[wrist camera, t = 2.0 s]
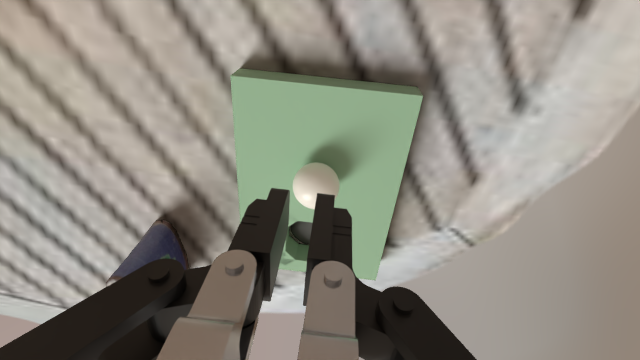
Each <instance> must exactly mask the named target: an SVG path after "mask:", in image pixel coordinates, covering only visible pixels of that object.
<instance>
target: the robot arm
mask: <svg viewBox="0 0 640 360" xmlns="http://www.w3.org/2000/svg"><path fill="white" fill-rule="evenodd" d="M334 201H335V195H330V194H321V193H317V197H316V204H315V210H314V217H313V223H312V230H311V236H310V243H309V249H308V256H307V266H306V277H305V289H304V301H303V305H304V306H306V312H305V319H304V325H303V330H302V333H301V339H300V345H299V352H298V359H297V360H359V357H361V358H363V359H365V360H476V359H475V357H474V356H473V355H472V354H471V353H470V352H469V351H468V350H467V349H466V348H465V346H464V345H463V344H462V343H461V342H460V341H459V340H458V339H457V338H456V337H455V336H454V334H453V333H452V332H451V331H450V330H449V329H448V328H447V327H446V326H445V324H444V323H443V322H442V321H441V320H440V319H439V318H438V317H437V316H436V315H435V313H434V312H433V311H432V310H431V309H430V308H429V307H428V306H427V305H426V304H425V302H424V301H423V300H422V299H421V298H420V297H419V296H418V295H417V294H415V293H414V292H413V291H411V290H409V289H406V288H403V287H390V288H387V289H385V290H384V291H383V292H380V291H378V290H375V289H373V288H371V287H368V286H367V285H365V284H363V283H362V282H361V281H360V280H359V279H358V278H357V277H356V275H355V273H354V271H353V267H352V217H351V215H350V214H349V212H348V210H347V209H343V208H334ZM289 204H290V190H286V189H277V188H271V190H270V192H269V195H268V197H267V200H264V199H256V200H255V201H253V202H252V203H251V204H250V205H249V206H248V207H247V209H246V212H245V214H244V217H243V218H242V220H241V224H240V225H239V227H238V229H237V231H236V234H235V236H234V238H233V240H232V243H231V245H230V247H229V249H228V251H227V252H224V253H222V254H221V255H219V256H218V257H217V258H216V259H215V260H214V262H213V263H212V265H209V266H206V267H200V268H193V269H186V270H184V267H183V265H182V264H181V263H180V262H179V261H177V260H174V259H168V258H165V259H158V260H154V261H152V262H149V263H148V264H146V265H144V266H142V267H140V268H139V269H137V270H135V271H133V272H132V273H130V274H128V275H127V276H125V277H123V278H121V279H120V280H118V281H116V282H114V283H113V284H111V285H109V286H107V287H106V288H104V289H102V290H100V291H99V292H97V293H95V294H93V295H92V296H90V297H88V298H86V299H85V300H83V301H81V302H79V303H78V304H76V305H74V306H73V307H71V308H69V309H67V310H66V311H64V312H62V313H60V314H59V315H57V316H55V317H53V318H52V319H50V320H48V321H46V322H45V323H43V324H41V325H39V326H38V327H36V328H34V329H33V330H31V331H29V332H27V333H26V334H24V335H22V336H20V337H19V338H17V339H15V340H13V341H12V342H10V343H8V344H7V345H5V346H3V347H1V348H0V360H248V359H249V355H250V351H251V347H252V343H253V339H254V335H255V331H256V327H257V323H258V315H259V312H260V308H261V305H262V301H271V297H272V293H273V289H274V285H275V281H276V276H277V272H278V268H279V264H280V260H281V256H282V252H283V248H284V244H285V240H286V236H287V231H288V224H289Z"/></svg>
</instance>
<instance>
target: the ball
mask: <svg viewBox="0 0 640 360" xmlns="http://www.w3.org/2000/svg"><path fill="white" fill-rule="evenodd" d="M339 187H340V185H339V179H338V176H337V174H336V173H335V171H334V170H333V169H332V168H331V167H329V166H328V165H326V164H323V163H318V162H315V163H309V164H307V165H305V166H303V167H302V168H300V169H299V170H298V172H297V173H296V175H295V177H294V180H293V192H294V195H295V197H296V199H297V200H298V201H299V202H300V203H301V204H302V205H303V206H305V207H307V208H310V209H315V204H316V197H317V193H321V194H330V195H335V199H336V197H337V195H338V193H339Z"/></svg>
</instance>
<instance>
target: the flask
mask: <svg viewBox="0 0 640 360" xmlns="http://www.w3.org/2000/svg"><path fill="white" fill-rule="evenodd" d="M161 221H163V223H162V222H161ZM161 221H160V220H159V221H156V222H155V223H153V225H152V226H151V227H150V228H149V230H148V231H147V233H146V234H145V235H144V236H143V238H142V239H141V241H140V242H139V243H138V244H137V246H136V247H135V248H134V249H133V250H132V252H131V253H130V254H129V256H128V257H127V258H126V259H125V260H124V262H123V263H122V264H121V265H120V266H119V268H118V269H117V270H116V271H115V272H114V273H113V275H112V276H111V277H110V278H109V279H108V281H107V282H106V286H109V285H111V284H113V283H114V282H116V281H118V280H120V279H121V278H123V277H125V276H127V275H128V274H130V273H132V272H133V271H135V270H137V269H139V268H140V267H142V266H144V265H146V264H148V263H149V262H152V261H154V260H158V259H165V258H168V259H174V260H177V261H179V262H180V263H181V264H182V265H183V267H184V270H186V269H188V267H189V266H188V260H187V254H186V253H185V250H184V249H183V245H182V243H181V240H180V239H179V236H178V234H177V231H176V229H175V228H173V226H172V225H171V224H170V222H167V221H165V220H161Z"/></svg>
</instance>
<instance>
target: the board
mask: <svg viewBox="0 0 640 360" xmlns="http://www.w3.org/2000/svg"><path fill="white" fill-rule="evenodd" d="M231 89H232V105H233V120H234V135H235V150H236V165H237V180H238V196H239V211H240V224H241V220H242V218H243V217H244V214H245V212H246V209H247V207H248V206H249V205H250V204H251V203H252V202H253V201H255V200H256V199H264V200H267V197H268V195H269V192H270V190H271V188H277V189H286V190H290V204H289V224H288V231H287V236H286V240H285V244H284V248H283V252H282V256H281V260H280V264H279V268H278V269H284V270H293V271H301V272H306V266H307V256H308V249H309V245H304V244H298V243H297V242H296V241H295V240H294V239H292V238H291V237H290V236H289V226H290V225H291V231H292V233H293V235H294V236H295V237H296V238H297V239H298V240H300V241H301V242H303V243H306V244H309V243H310V236H311V230H312V223H313V217H314V210H315V209H310V208H307V207H305V206H303V205H302V204H301V203H300V202H299V201H298V200H297V199H296V197H295V195H294V192H293V180H294V177H295V175H296V173H297V172H298V170H299V169H300V168H302V167H303V166H305V165H307V164H309V163H315V162H318V163H323V164H326V165H328V166H329V167H331V168H332V169H333V170H334V171H335V173H336V174H337V176H338V179H339V185H340V187H339V193H338V195H337V197H336V199H335V201H334V208H343V209H347V210H348V212H349V214H350V215H351V217H352V267H353V271H354V273H355V275H356V277H357V278H360V279H368V280H376V277H377V273H378V269H379V265H380V261H381V257H382V253H383V249H384V246H385V242H386V238H387V234H388V230H389V226H390V222H391V219H392V215H393V211H394V207H395V203H396V199H397V195H398V191H399V188H400V184H401V180H402V176H403V172H404V168H405V164H406V161H407V157H408V153H409V149H410V145H411V141H412V137H413V134H414V130H415V126H416V122H417V118H418V114H419V110H420V106H421V103H422V99H423V95H422V93H421V92H420V90H419V89H418V87H414V86H404V85H395V84H385V83H376V82H366V81H357V80H347V79H337V78H328V77H318V76H309V75H299V74H290V73H280V72H271V71H261V70H251V69H242V68H240V69H238V70H237V71H236V72H235V73H233V74H232V75H231Z"/></svg>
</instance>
